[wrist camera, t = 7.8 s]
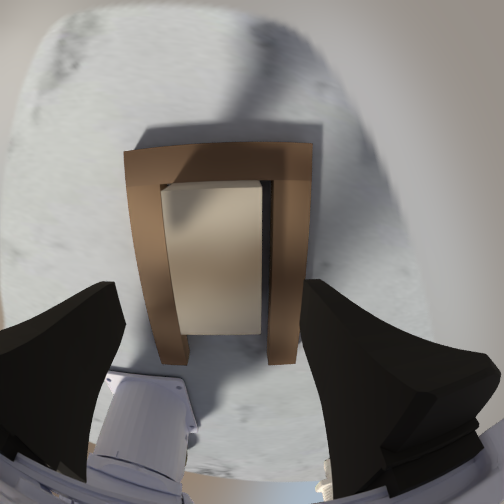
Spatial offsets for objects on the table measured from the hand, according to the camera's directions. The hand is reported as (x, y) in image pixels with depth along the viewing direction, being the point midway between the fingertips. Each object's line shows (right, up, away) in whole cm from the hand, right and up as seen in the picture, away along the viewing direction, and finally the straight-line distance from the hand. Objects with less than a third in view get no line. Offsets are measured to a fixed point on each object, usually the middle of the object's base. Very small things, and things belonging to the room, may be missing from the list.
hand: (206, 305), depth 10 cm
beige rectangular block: (0, +3, +7) cm, 8 cm away
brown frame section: (0, +1, +8) cm, 8 cm away
